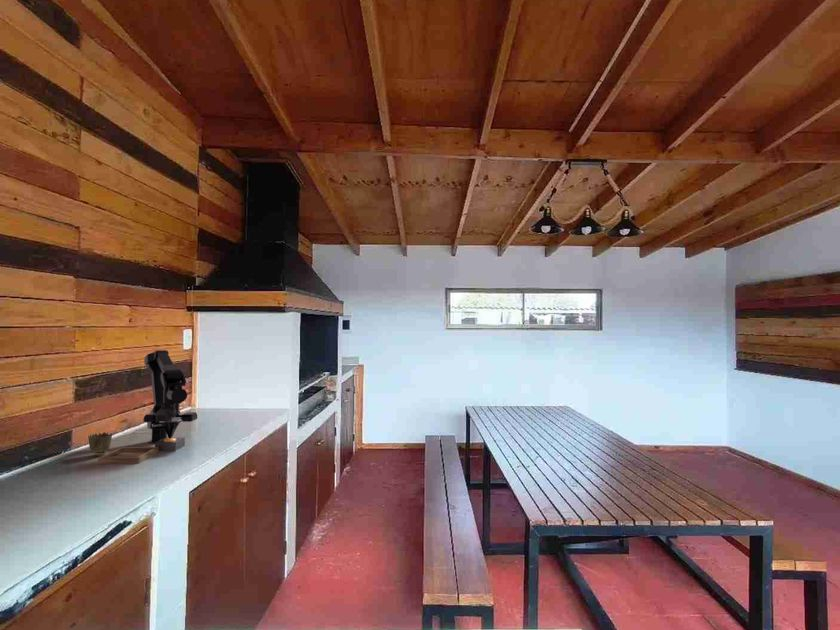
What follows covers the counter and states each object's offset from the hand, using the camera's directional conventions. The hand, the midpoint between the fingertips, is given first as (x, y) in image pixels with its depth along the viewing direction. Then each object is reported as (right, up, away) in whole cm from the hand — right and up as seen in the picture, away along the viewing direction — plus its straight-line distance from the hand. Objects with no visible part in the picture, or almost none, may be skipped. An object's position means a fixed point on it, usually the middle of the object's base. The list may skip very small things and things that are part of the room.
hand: (170, 438), depth 175 cm
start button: (0, -3, 0) cm, 3 cm away
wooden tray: (-8, -4, -13) cm, 16 cm away
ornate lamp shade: (-21, -4, -10) cm, 24 cm away
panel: (0, -4, 0) cm, 4 cm away
